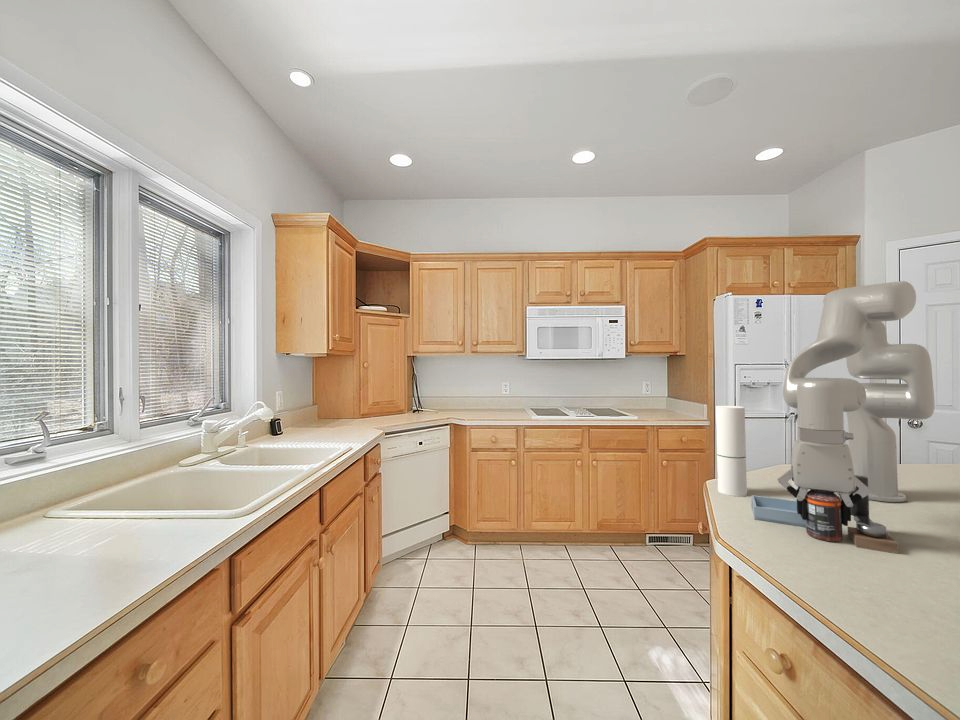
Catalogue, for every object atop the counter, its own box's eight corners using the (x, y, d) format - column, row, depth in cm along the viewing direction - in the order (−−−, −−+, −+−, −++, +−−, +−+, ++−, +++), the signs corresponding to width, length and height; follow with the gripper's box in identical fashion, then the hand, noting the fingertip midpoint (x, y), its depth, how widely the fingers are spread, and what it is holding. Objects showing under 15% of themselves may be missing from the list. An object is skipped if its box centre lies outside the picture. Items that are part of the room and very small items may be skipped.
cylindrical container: (746, 491, 116) (744, 406, 117) (747, 497, 110) (744, 408, 111) (718, 487, 120) (716, 405, 121) (717, 493, 114) (715, 407, 115)
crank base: (847, 535, 85) (847, 525, 85) (886, 541, 82) (886, 531, 82) (856, 546, 80) (855, 535, 80) (897, 553, 77) (897, 542, 77)
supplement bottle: (833, 533, 87) (832, 481, 87) (848, 544, 81) (847, 489, 81) (800, 529, 89) (799, 479, 89) (813, 540, 83) (811, 486, 83)
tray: (751, 506, 103) (751, 495, 103) (800, 513, 98) (799, 501, 98) (754, 519, 95) (754, 506, 95) (807, 527, 90) (807, 514, 90)
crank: (890, 538, 78) (888, 490, 78) (859, 534, 80) (858, 486, 80) (871, 519, 88) (869, 476, 88) (844, 516, 90) (843, 473, 90)
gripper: (869, 437, 84) (872, 522, 84) (769, 431, 93) (771, 508, 93) (881, 443, 78) (885, 535, 77) (773, 436, 87) (775, 519, 86)
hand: (823, 519), depth 85 cm, fingers closed on supplement bottle, 5 cm apart
